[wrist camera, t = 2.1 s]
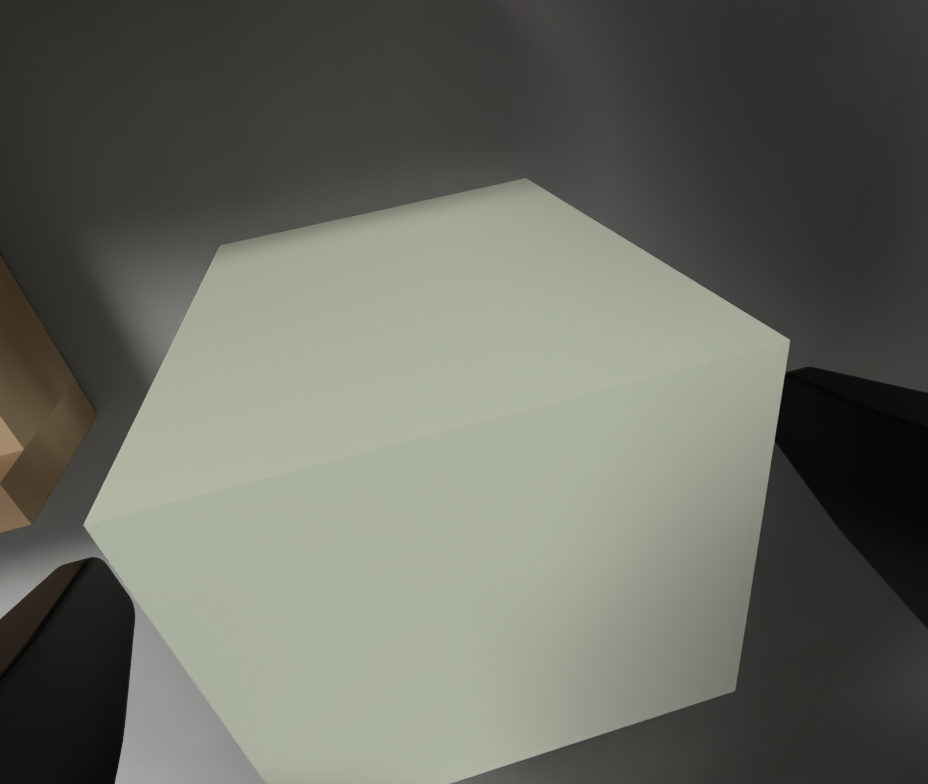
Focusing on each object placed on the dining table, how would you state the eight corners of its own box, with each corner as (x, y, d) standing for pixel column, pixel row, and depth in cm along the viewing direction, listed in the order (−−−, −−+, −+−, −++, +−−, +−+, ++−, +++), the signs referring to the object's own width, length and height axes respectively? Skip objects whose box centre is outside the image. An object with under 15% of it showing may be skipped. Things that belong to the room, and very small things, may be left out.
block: (550, 426, 14) (731, 716, 8) (315, 488, 13) (315, 852, 7) (525, 177, 11) (791, 340, 5) (220, 245, 10) (83, 525, 4)
